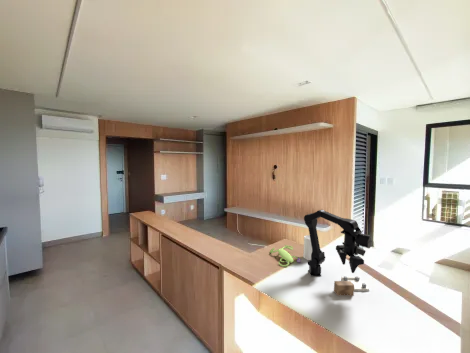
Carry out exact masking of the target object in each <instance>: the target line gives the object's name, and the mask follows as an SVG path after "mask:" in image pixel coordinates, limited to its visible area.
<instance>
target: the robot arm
mask: <svg viewBox="0 0 470 353" xmlns="http://www.w3.org/2000/svg"><path fill="white" fill-rule="evenodd" d="M319 218H322V219H324V220H327V221H328V222H331V223H334V224H335V225H338V226H339V227H340V228H341V229H343V230H342V231H340V233H341V234H344V236H343V241H342V242H341V243H342V244H340V245H339V244H338V245H336V246H335V251H336V253H337V254H338V256H339V258H340V260H341V261H340V262H341V264H342V265H343V266H344V265H346V261H347V256H348V257H349V258H348V264H349V267H350V272H351V273H352V274H354V273H355V272H356V271H357V270H356V269H358V267H359V266H362V265H365V260H364V258H362V257H365V254H366V252H367V250H365V249H370V248H371V247H372V245H373V240H372V236H371V235H370V234H366V233H365V234H364V233H363V232H362V229H361V228H360V226H359V225H358V224H359V223H358V222H357V221H356V220H354V219H351V218H344V217H341V216H339V215H336V214H333V213H331V212H328V211H326V210H324V209H318V210H317V211H315V212H311V213H307V214H305V215H304V216H303V220H304V223H305V226H306V227H307V228H308V235H310V240H311V245H312V254H311V260H307V265H308V270H307V271H308V273H309V274H310V276H311V277H322V274H321V273H322V267H321V265H322V263H324V262H325V260H326V256H325V252H324V251H322V250H321V247H320V242H319V234H318V230H317V225H318V219H319ZM362 247H363V248H362ZM364 248H365V249H364ZM361 256H362V257H361Z"/></svg>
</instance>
